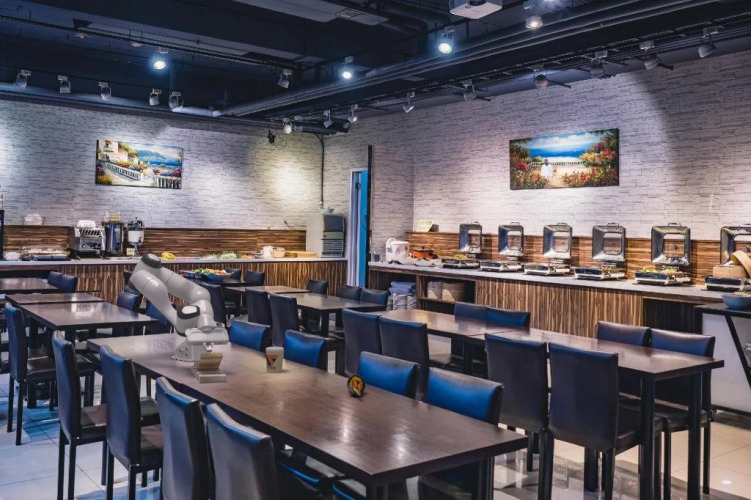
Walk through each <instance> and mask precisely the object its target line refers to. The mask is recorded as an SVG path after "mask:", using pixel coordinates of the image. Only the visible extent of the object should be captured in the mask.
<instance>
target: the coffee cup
mask: <svg viewBox="0 0 751 500" xmlns="http://www.w3.org/2000/svg"><path fill="white" fill-rule="evenodd" d="M284 354H285V349H284V347H282V346H281V347H280V346H269V347H266V348H265V361H266V366H265V367H266V372H267V373H269V374H279V373H282V372H283V366H284V365H283V363H284Z"/></svg>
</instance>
